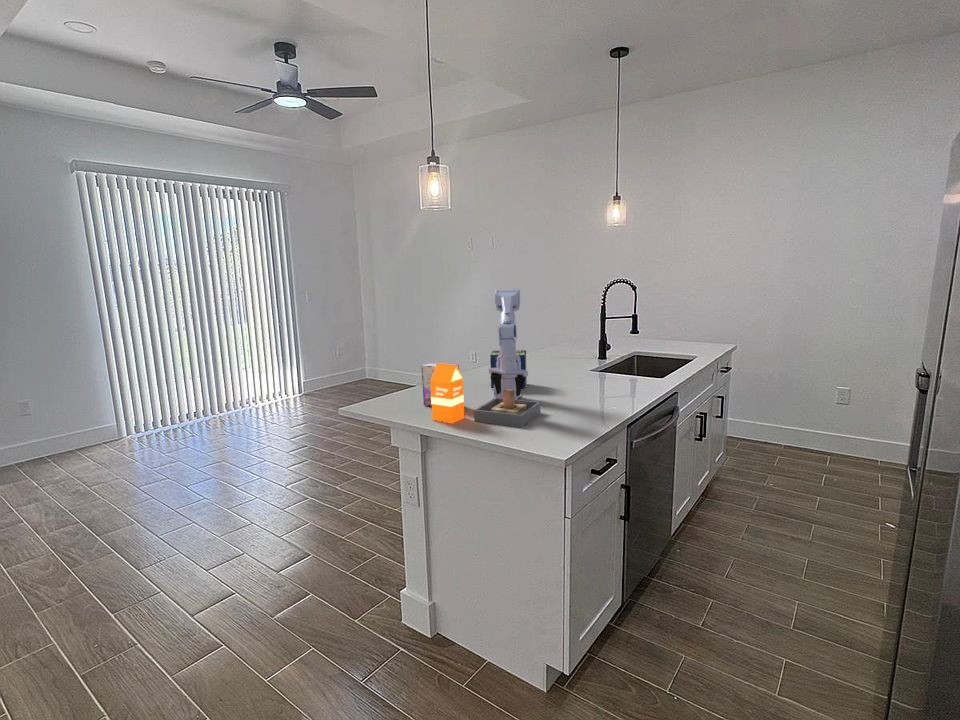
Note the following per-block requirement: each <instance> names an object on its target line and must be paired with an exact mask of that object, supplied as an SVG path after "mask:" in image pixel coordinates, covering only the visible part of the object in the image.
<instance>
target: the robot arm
mask: <svg viewBox="0 0 960 720" xmlns="http://www.w3.org/2000/svg"><path fill="white" fill-rule="evenodd" d="M494 304H495V309H496V311H499V312H500V314H499V325H498V327H497V338H498V345H499V351H500V355H499V356H498V357H497V368H491V367H490V368H488V374H489V375H490V376H489V377H490V380H491V379H492V381H493V383H494V389H493V399H494V398H503V390H507V389H511V390H514V399H515V400H519V398H521V397H522V395H523V394H521V392H522V389H521V388H522V385H523V383H524V380H525V378H526V376H527V377H528V376H529V370H527V369H526V370H521V361H520V356H519V355H517V354H516V351H517V349H516V347H517V346H516V345H517V343H516V341H517V338H518V336H517V335H518V333H517V331H518V328H517V324H516V323H517V322H516V314H515V312H516V311H519V310H520V307H521V290H520V289H519V288H513V289H509V288H508V289H507V288H506V289H505V288H504V289H497V288H496V289H495V290H494ZM491 374H492V375H491Z"/></svg>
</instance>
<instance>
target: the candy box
mask: <svg viewBox="0 0 960 720" xmlns="http://www.w3.org/2000/svg"><path fill="white" fill-rule="evenodd" d="M450 365H456V366H457V368H458V370H459V371H460V367H459V366H460V364H452V363H450ZM435 366H436V363H435V362H428V363H425V364H422V365H421V377H422V378H421V380H422V394H423V406H424V405H428V406H427V407H431V406H432V404H431V382H430V380H431V378H432V375H433V372H434V369H435Z"/></svg>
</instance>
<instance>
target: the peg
mask: <svg viewBox="0 0 960 720" xmlns="http://www.w3.org/2000/svg"><path fill="white" fill-rule="evenodd" d="M503 409H512V410H513V409H514V390H511V389H507V390H503Z"/></svg>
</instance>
